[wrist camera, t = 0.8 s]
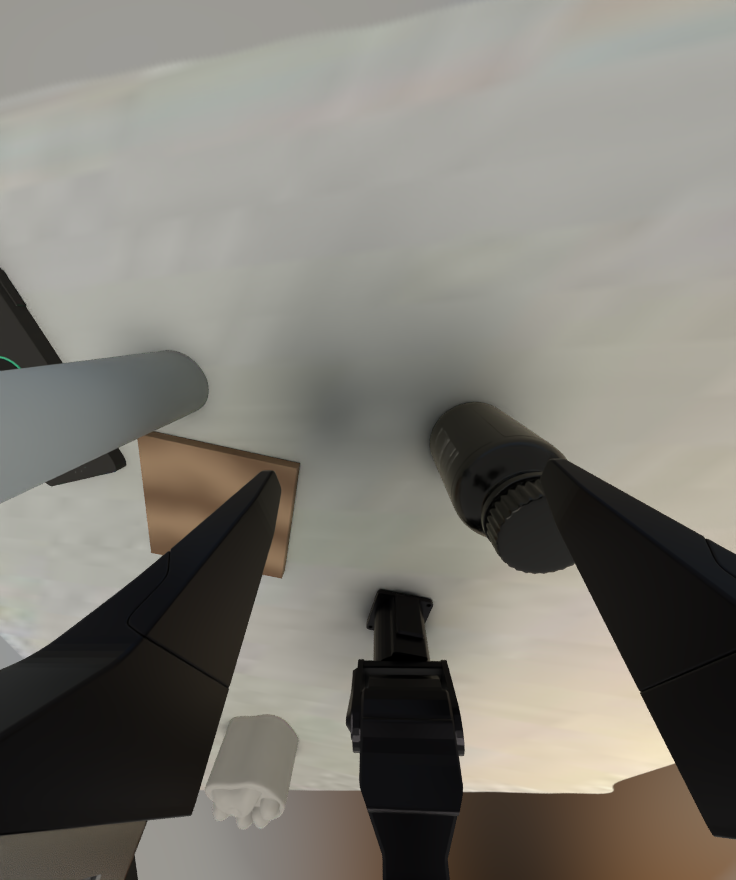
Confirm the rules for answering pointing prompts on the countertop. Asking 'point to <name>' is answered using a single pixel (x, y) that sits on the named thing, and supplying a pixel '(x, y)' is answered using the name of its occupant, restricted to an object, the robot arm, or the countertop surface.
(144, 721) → the robot arm
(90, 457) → the slate round-topped tapered cone
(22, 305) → the smart home device
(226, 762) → the lumpy-topped squat cylinder
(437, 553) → the countertop surface
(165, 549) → the walnut board
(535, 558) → the supplement bottle
